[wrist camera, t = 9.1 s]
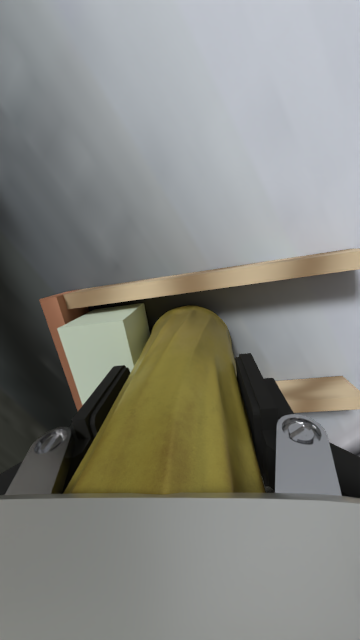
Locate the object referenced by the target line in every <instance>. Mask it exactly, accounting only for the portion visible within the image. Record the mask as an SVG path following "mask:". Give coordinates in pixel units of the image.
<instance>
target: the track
mask: <svg viewBox="0 0 360 640" xmlns="http://www.w3.org/2000/svg"><path fill="white" fill-rule="evenodd" d="M357 269H360V249H347V250H340V251H333V252H327V253H320V254H313V255H307V256H300V257H293V258H287V259H280V260H273V261H267V262H260V263H253V264H247V265H240V266H233V267H227V268H220V269H213V270H207V271H200V272H193V273H187V274H180V275H173V276H167V277H160V278H153V279H147V280H140V281H133V282H127V283H120V284H113V285H107V286H100V287H93V288H87V289H80V290H73V291H68V292H64V293H60V294H57V295H53V296H50V297H46V298H42V299H39V300H40V303H41V306H42V309H43V312H44V315H45V317H46V320H47V323H48V326H49V329H50V332H51V335H52V338H53V341H54V344H55V347H56V349H57V352H58V355H59V358H60V361H61V364H62V367H63V370H64V373H65V376H66V379H67V381H68V384H69V387H70V390H71V393H72V396H73V399H74V402H75V405H76V408H77V410H78V411H79V409H80V408H81V407H82V406H83V405H82V402H81V399H80V396H79V393H78V390H77V387H76V384H75V381H74V378H73V375H72V372H71V369H70V366H69V363H68V360H67V357H66V354H65V351H64V348H63V345H62V342H61V339H60V336H59V333H58V330H57V328H59V327H61V326H63V325H65V324H67V323H69V322H71V321H73V320H75V319H77V318H79V317H81V316H83V315H85V314H87V313H89V308H88V306H96V305H103V304H110V303H117V302H125V301H132V300H139V299H147V298H154V297H161V296H168V295H176V294H183V293H190V292H197V291H205V290H212V289H219V288H227V287H234V286H241V285H248V284H256V283H263V282H270V281H277V280H285V279H292V278H299V277H306V276H314V275H321V274H328V273H336V272H343V271H350V270H357ZM275 382H276V383H277V385H278V387H279V389H280V390H281V392H282V394H283V395H284V397H285V399H286V401H287V402H288V404H289V406H290V408H291V409H292V411H293V413H301V412H318V411H336V410H353V409H360V391H359V390H358V389H357V388H356V387H355V386H353V385H352V384H351V383H350V382H349V381H348V380H346V379H345V378H344V377H343V376H335V377H322V378H309V379H296V380H283V381H275Z"/></svg>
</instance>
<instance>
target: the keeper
mask: <svg viewBox="0 0 360 640" xmlns="http://www.w3.org/2000/svg"><path fill="white" fill-rule="evenodd" d="M57 330H58V333H59V336H60V339H61V342H62V345H63V348H64V351H65V354H66V357H67V360H68V363H69V366H70V369H71V372H72V375H73V378H74V381H75V384H76V387H77V390H78V393H79V396H80V399H81V402H82V405H83V404H84V403H85V402H86V401H87V399H88V398H89V397H90V395H91V394H92V393H93V392H94V390H95V389H96V388H97V387H98V385H99V384H100V383H101V382H102V380H103V379H104V378H105V376H106V375H107V374H108V373H109V371H110V370H111V369H112V368H113V367H114V366H121V365H125V366H126V368H129V370H130V373H131V371H132V369H133V368H134V366H135V364H136V362H137V360H138V359H139V357H140V355H141V353H142V350H143V348H144V346H145V344H146V342H147V341H148V339H149V337H150V331H149V326H148V321H147V316H146V311H145V306H144V303H139V304H131V305H124V306H117V307H109V308H102V309H94V310H92V311H90V312H89V313H87V314H85V315H83V316H81V317H79V318H77V319H75V320H73V321H71V322H69V323H67V324H65V325H63V326H61V327H59V328H57Z"/></svg>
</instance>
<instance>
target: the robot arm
mask: <svg viewBox="0 0 360 640" xmlns="http://www.w3.org/2000/svg"><path fill="white" fill-rule="evenodd" d="M235 360H236V372H237V379H238V383H239V387H240V390H241V394H242V398H243V401H244V405H245V408H246V412H247V415H248V419H249V423H250V427H251V432H252V438H253V444H254V449H255V454H256V459H257V462H258V466H259V469H260V473H261V476H262V477H263V481H264V485H265V486H270V487H271V488H272V489H274V490H275V493H175V494H166V495H155V494H138V493H78V494H63V493H64V491H65V489H66V488H67V486H68V484H69V482H70V481H71V479H72V477H73V475H74V474H75V472H76V470H77V468H78V467H79V465H80V463H81V461H82V460H83V458H84V456H85V454H86V453H87V451H88V449H89V447H90V446H91V444H92V442H93V441H94V439H95V437H96V435H97V433H98V432H99V430H100V428H101V426H102V424H103V422H104V421H105V419H106V417H107V415H108V413H109V411H110V409H111V408H112V406H113V404H114V402H115V400H116V398H117V397H118V395H119V393H120V391H121V389H122V388H123V386H124V384H125V382H126V381H127V379H128V377H129V375H130V370H129V368H126V366H125V365H121V366H114V367H113V368H112V369H111V370H110V371H109V373H108V374H107V375H106V376H105V378H104V379H103V380H102V382H101V383H100V384H99V385H98V387H97V388H96V389H95V390H94V392H93V393H92V394H91V395H90V397H89V398H88V399H87V401H86V402H85V403H84V404H83V406H82V407H81V408H80V409H79V411H78V412H77V413H76V415H75V416H74V417H73V418H72V420H71V421H72V424H71V426H70V427H69V428H68V427H58V428H55V429H52V430H50V431H48V432H46V433H44V434H43V435H42V436H40V437H39V438H38V439H37V440H36V441H35V442H34V443H33V445H32V446H31V448H30V449H29V451H28V453H27V455H26V457H25V459H24V460H23V461H22V462H20V463H19V464H17V465H15V466H13V467H12V468H10V469H8V470H6V471H5V472H3V473H1V474H0V640H360V457H358V456H356V455H354V454H352V453H350V452H348V451H346V450H344V449H342V448H340V447H338V446H336V445H334V444H332V443H330V442H329V440H328V435H327V433H326V431H325V429H324V428H323V427H322V426H321V424H319V423H318V422H317V421H315V420H314V419H311V418H309V417H307V416H303V415H299V414H294V413H293V411H292V409H291V408H290V406H289V404H288V402H287V401H286V399H285V397H284V395H283V394H282V392H281V390H280V389H279V387H278V385H277V383H276V382H275V380H274V379H273V378H265V379H263V377H262V375H261V373H260V371H259V369H258V367H257V365H256V363H255V361H254V359H253V357H252V355H251V353H248V354H239V357H236V358H235Z"/></svg>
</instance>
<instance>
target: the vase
mask: <svg viewBox="0 0 360 640" xmlns="http://www.w3.org/2000/svg"><path fill="white" fill-rule="evenodd" d="M78 493H138V494H155V495H166V494H175V493H266V492H265V488H264V484H263V481H262V477H261V473H260V469H259V466H258V462H257V459H256V454H255V449H254V444H253V438H252V432H251V427H250V423H249V419H248V415H247V412H246V408H245V405H244V401H243V398H242V394H241V390H240V387H239V383H238V379H237V372H236V364H235V360H234V355H233V351H232V342H231V337H230V334H229V331H228V328H227V326H226V324H225V323H224V322H223V321H222V319H221V318H220V317H219V316H218V315H216V314H215V313H214V312H212V311H210V310H208V309H205V308H202V307H199V306H182V307H178V308H175V309H172V310H170V311H168V312H166V313H165V314H164V315H162V316H161V317H160V318H159V319H158V321H157V322H156V323H155V325H154V326H153V329H152V332H151V335H150V337H149V339H148V341H147V342H146V344H145V346H144V348H143V350H142V353H141V355H140V357H139V359H138V360H137V362H136V364H135V366H134V368H133V369H132V371H131V373H130V375H129V377H128V379H127V381H126V382H125V384H124V386H123V388H122V389H121V391H120V393H119V395H118V397H117V398H116V400H115V402H114V404H113V406H112V408H111V409H110V411H109V413H108V415H107V417H106V419H105V421H104V422H103V424H102V426H101V428H100V430H99V432H98V433H97V435H96V437H95V439H94V441H93V442H92V444H91V446H90V447H89V449H88V451H87V453H86V454H85V456H84V458H83V460H82V461H81V463H80V465H79V467H78V468H77V470H76V472H75V474H74V475H73V477H72V479H71V481H70V482H69V484H68V486H67V488H66V489H65V491H64V493H63V494H78Z"/></svg>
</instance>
